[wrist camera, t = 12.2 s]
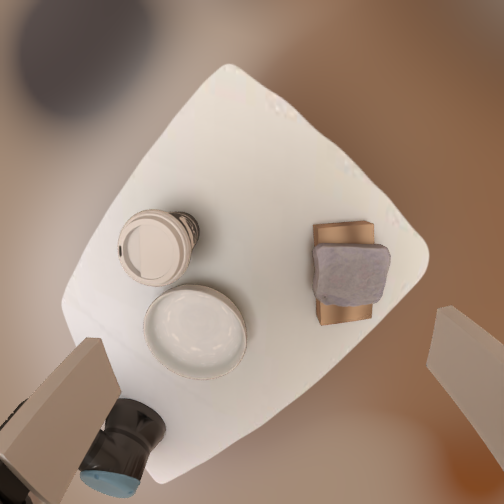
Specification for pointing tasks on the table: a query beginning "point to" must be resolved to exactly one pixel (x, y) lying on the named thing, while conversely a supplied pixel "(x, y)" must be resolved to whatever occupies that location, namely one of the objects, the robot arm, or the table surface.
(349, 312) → the walnut plinth
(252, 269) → the table surface
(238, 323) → the cereal bowl
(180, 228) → the coffee cup
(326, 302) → the stone block
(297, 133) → the table surface
